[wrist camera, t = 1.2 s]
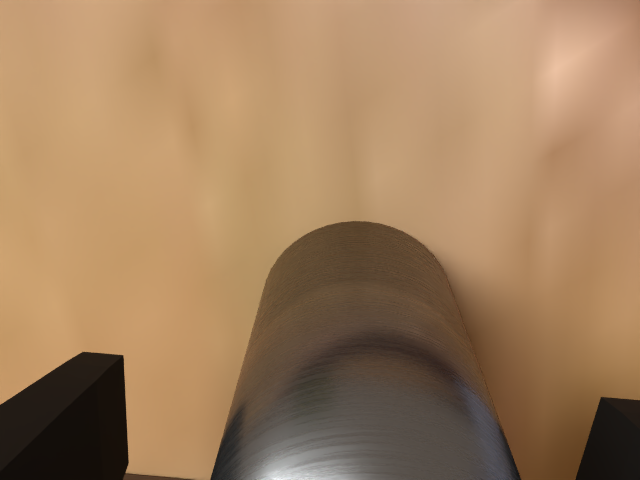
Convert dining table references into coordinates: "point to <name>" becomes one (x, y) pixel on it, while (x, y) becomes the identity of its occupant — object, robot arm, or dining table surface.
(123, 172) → the dining table surface
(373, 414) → the pin
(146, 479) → the socket block
